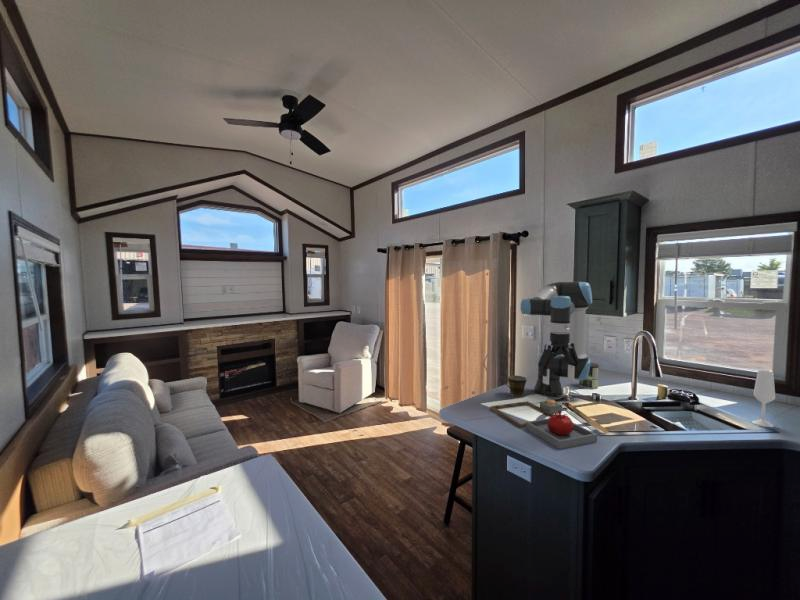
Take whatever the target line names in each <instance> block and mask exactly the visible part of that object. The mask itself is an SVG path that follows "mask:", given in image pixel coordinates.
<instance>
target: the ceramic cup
mask: <svg viewBox="0 0 800 600" xmlns="http://www.w3.org/2000/svg"><path fill="white" fill-rule="evenodd" d="M507 382H508V384H507ZM526 384H527V377H524V376H522V375H509V376H508V377H507V379H505V381H504V385H505V386H507V387H508V388H509V392H510V395H511V396H512V397H514V398H521V397H523V396H524V391H525V387H526Z"/></svg>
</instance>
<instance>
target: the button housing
mask: <svg viewBox="0 0 800 600" xmlns="http://www.w3.org/2000/svg"><path fill="white" fill-rule="evenodd" d="M546 402H547V400H543V401H539V407H540V408H542V409H544V410H546V411H548V412H550V413H553V414H554V413H555V414H559V412H558V411H561V414H562V413H563V411H562V410H563V409H562V408H563V405H562V404H561V403H559V402H557V401H555V405H548V404H546ZM555 414H554V415H555Z"/></svg>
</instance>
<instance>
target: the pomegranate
mask: <svg viewBox="0 0 800 600" xmlns="http://www.w3.org/2000/svg"><path fill="white" fill-rule="evenodd" d="M558 412H559V413H557V414H555V413H554V415H552V416H551V417H550V416H549V417H548V418H549V420H548V422H547V424H548V429H549V430H550V431H551V432H552V433H554V434H556V435H560V436H563V435H568V434H570V433H571V432H572V431H573V429H574V425H573V423H574V422H573V421H572V419H571V418H570V417H569V415H568V414H567V413H564V414H562V413H561V411H558ZM552 414H553V413H552Z"/></svg>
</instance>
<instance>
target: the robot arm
mask: <svg viewBox="0 0 800 600" xmlns="http://www.w3.org/2000/svg"><path fill="white" fill-rule="evenodd" d="M592 304H593V293H592V288H591V285H590V283H589V282H585V281H557V282H552V283H548V284H546V285H544V286H543V287H541V288H540V289H539V291H538V292H537V294H536V295H533V297H531V298H523V299H522V300H521V302H520V312H521V314H523V315H528V316H550V325H549V331H550V333H549V341H550V342H551V343H550V344H544V350H543V352H542V353H540V354H539V355H538V360H537V380H536V382H535V385H534V389H533V390H534V392H535V394H539V395H541V396H546V397H553V398H554V397H561V396H563V393H564V392H563V391H564V390H563V388H562V387H563V386H562V384H561V381H560V377H562V378H567V380H568V381H570V382H575V380H579V379H580V380H586V379H587V378H588V374H589V369H590V364H591V363H592V360H591V359H590V358H588V357H589V356H588V354H587V353H586V350H585V348H586V312H587V311H586V310H588V309H589V307H590V305H592Z"/></svg>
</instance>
